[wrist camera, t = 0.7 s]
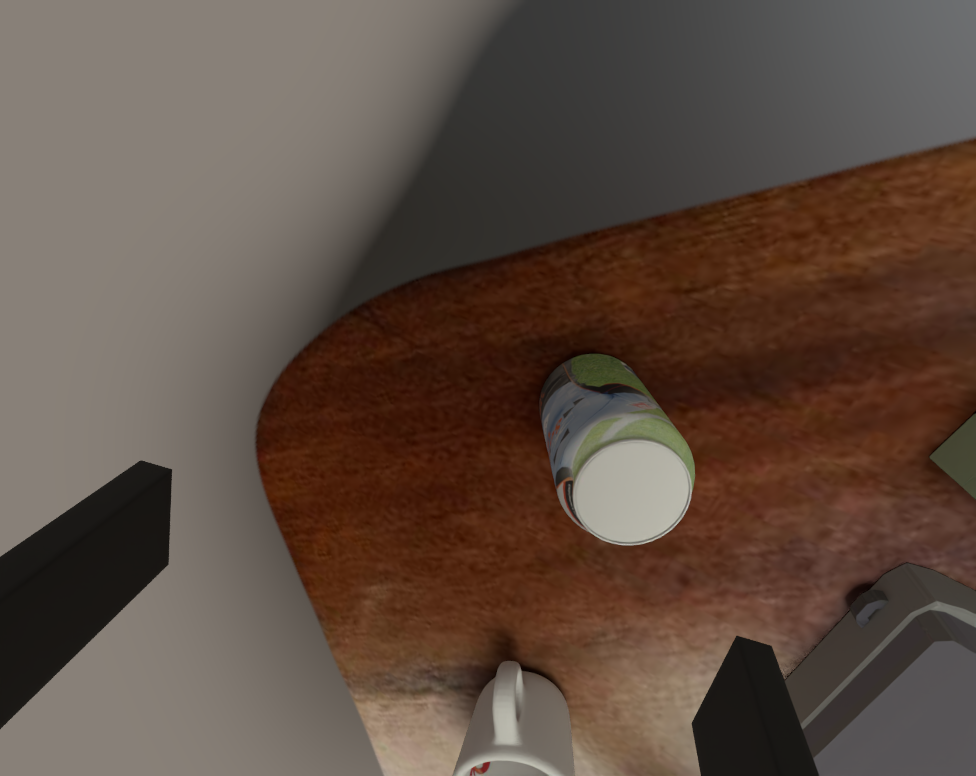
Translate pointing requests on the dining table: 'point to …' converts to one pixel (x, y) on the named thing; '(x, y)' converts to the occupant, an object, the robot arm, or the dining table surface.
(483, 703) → the cup
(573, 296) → the dining table surface
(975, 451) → the green flat box
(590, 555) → the dining table surface
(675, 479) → the beverage can
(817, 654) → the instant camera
